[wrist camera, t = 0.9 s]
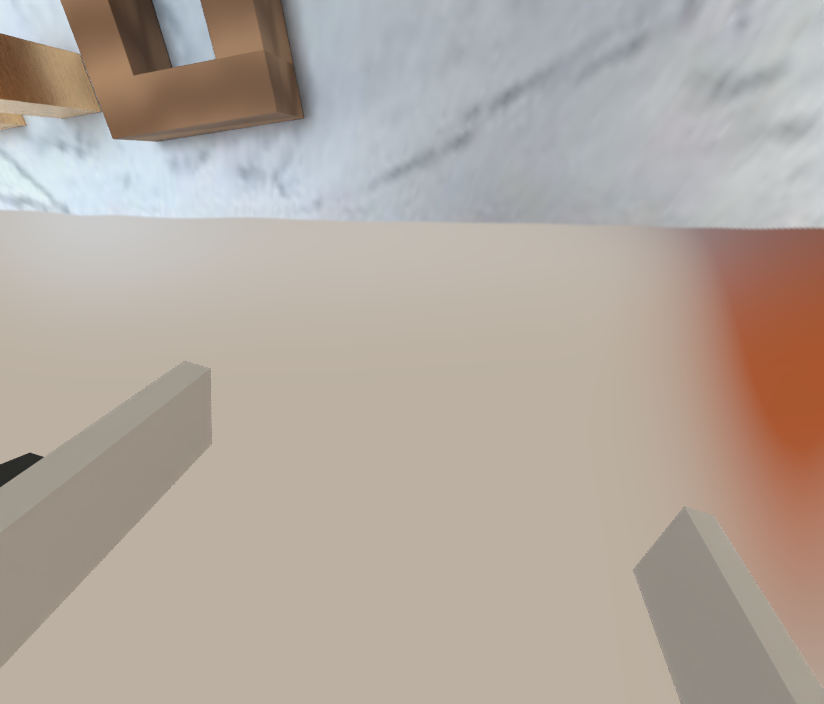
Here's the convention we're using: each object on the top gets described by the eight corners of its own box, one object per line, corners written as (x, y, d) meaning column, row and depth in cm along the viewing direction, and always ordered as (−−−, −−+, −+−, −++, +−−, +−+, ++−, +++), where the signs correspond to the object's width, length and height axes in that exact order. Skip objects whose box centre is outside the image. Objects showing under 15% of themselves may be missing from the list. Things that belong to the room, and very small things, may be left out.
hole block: (84, -72, 28) (18, -111, 24) (256, -122, 26) (214, -175, 22) (156, 141, 34) (112, 138, 30) (303, 118, 31) (277, 111, 27)
